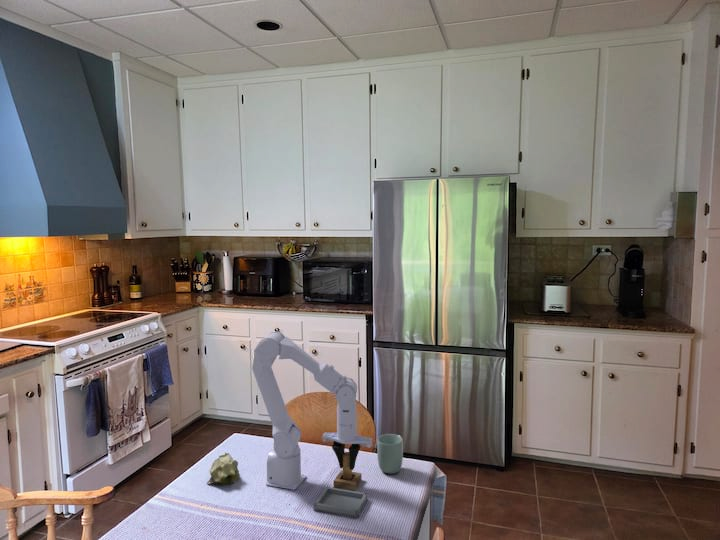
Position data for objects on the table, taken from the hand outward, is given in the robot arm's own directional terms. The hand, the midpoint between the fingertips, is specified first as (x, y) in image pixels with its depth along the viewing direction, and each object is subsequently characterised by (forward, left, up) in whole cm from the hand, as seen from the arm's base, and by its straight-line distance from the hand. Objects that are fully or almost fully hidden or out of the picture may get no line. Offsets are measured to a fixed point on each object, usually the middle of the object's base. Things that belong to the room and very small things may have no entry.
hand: (347, 467), depth 140 cm
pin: (0, 0, -3) cm, 3 cm away
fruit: (-35, -8, -5) cm, 37 cm away
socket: (0, 0, -5) cm, 5 cm away
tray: (+2, -11, -5) cm, 12 cm away
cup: (+10, +11, -5) cm, 16 cm away
